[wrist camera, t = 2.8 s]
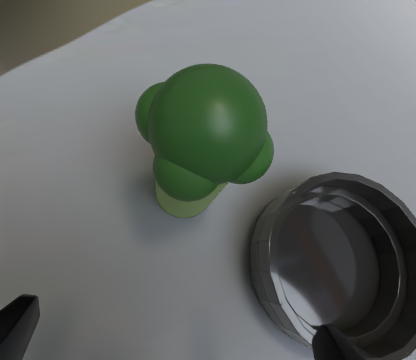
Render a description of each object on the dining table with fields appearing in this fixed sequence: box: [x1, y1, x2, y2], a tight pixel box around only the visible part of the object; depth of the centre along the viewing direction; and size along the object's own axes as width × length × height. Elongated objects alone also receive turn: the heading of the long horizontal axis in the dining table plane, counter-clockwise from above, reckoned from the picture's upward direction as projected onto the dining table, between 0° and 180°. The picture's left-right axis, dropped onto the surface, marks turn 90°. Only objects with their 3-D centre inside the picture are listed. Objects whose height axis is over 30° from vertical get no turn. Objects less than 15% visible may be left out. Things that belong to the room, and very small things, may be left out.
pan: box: [250, 172, 416, 360], centre depth 21 cm, size 13×13×4 cm
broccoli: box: [135, 64, 274, 218], centre depth 16 cm, size 7×7×14 cm
